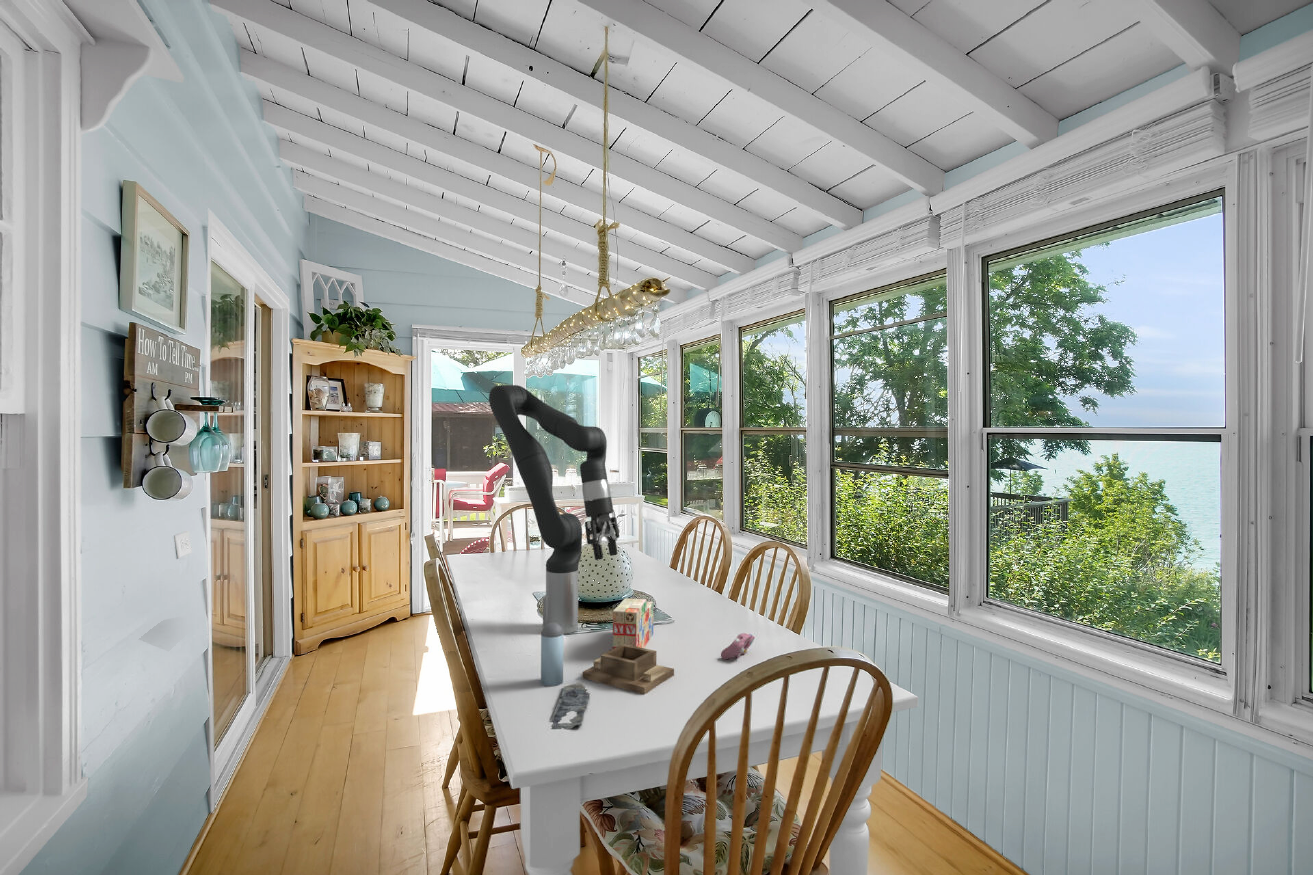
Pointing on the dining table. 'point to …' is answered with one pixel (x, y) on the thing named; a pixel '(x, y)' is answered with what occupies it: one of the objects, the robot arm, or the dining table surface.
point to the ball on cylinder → (552, 655)
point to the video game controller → (738, 646)
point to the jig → (629, 669)
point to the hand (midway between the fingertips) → (606, 557)
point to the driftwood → (571, 706)
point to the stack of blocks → (633, 623)
